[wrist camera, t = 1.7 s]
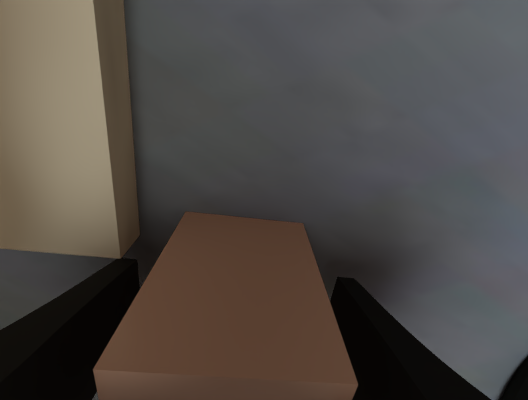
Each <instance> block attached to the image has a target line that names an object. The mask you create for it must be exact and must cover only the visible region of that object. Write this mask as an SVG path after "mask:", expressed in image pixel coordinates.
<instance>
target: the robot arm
mask: <svg viewBox="0 0 528 400" xmlns="http://www.w3.org/2000/svg"><path fill="white" fill-rule="evenodd" d="M139 290H140V288H139V275H138V263H137V260H136V259H124V258H121V259H117V260H115V261H114V262H112V263H110V264H109V265H107V266H106V267H104V268H102V269H101V270H99V271H98V272H96V273H95V274H93V275H92V276H90V277H88V278H87V279H85V280H84V281H82V282H81V283H79V284H77V285H76V286H74V287H73V288H71V289H70V290H68V291H66V292H65V293H63V294H62V295H60V296H58V297H57V298H55V299H53V300H52V301H50V302H48V303H47V304H45V305H43V306H41V307H40V308H38V309H36V310H35V311H33V312H31V313H30V314H28V315H26V316H24V317H23V318H21V319H19V320H18V321H16V322H14V323H12V324H10V325H9V326H7V327H5V328H3V329H1V330H0V400H92V399H93V397H94V395H95V393H96V392H97V388H96V383H95V378H94V373H93V369H94V367H95V365H96V363H97V362H98V360H99V358H100V357H101V355H102V353H103V352H104V350H105V348H106V346H107V345H108V343H109V341H110V340H111V338H112V336H113V334H114V333H115V331H116V329H117V328H118V326H119V324H120V323H121V321H122V319H123V317H124V316H125V314H126V312H127V311H128V309H129V307H130V306H131V304H132V302H133V300H134V299H135V297H136V295H137V294H138V292H139ZM330 303H331V306H332V309H333V312H334V315H335V318H336V321H337V324H338V327H339V330H340V333H341V335H342V338H343V341H344V344H345V347H346V350H347V353H348V356H349V359H350V362H351V365H352V368H353V370H354V373H355V376H356V379H357V382H358V387H357V389H356V391H355V394H354V396H353V399H352V400H491V399H490V398H488V397H487V396H486V395H484V394H483V393H482V392H480V391H479V390H478V389H476V388H475V387H474V386H472V385H471V384H470V383H469V382H467V381H466V380H465V379H464V378H462V377H461V376H460V375H459V374H457V373H456V372H455V371H454V370H452V369H451V368H450V367H449V366H447V365H446V364H445V363H444V362H442V361H441V360H440V359H439V358H438V357H437V356H435V355H434V354H433V353H432V352H431V351H430V350H429V349H427V348H426V347H425V346H424V345H423V344H422V343H421V342H419V341H418V340H417V339H416V338H415V337H414V336H413V335H412V334H411V333H410V332H408V331H407V330H406V329H405V328H404V327H403V326H402V325H401V324H400V323H399V322H398V321H397V320H396V319H395V318H394V317H393V316H392V315H390V314H389V313H388V312H387V311H386V310H385V309H384V308H383V307H382V306H381V305H380V304H379V303H378V302H377V301H376V300H375V299H374V298H373V297H372V296H371V295H370V294H369V293H368V292H367V291H366V290H365V289H364V288H363V287H362V286H361V285H360V284H359V283H358V282H357V281H356V280H355V279H354V278H343V277H337V280H336V284H335V287H334V290H333V294H332V297H331V301H330Z"/></svg>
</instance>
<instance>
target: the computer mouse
mask: <svg viewBox="0 0 528 400" xmlns="http://www.w3.org/2000/svg"><path fill="white" fill-rule="evenodd" d="M501 400H528V358H527V359H526V360H525V361H524V363H523V364H522V365H521V367H520V368H519V369H518V371H517V372H516V374H515V375H514V377H513V378H512V380H511V382H510V383H509V385H508V387H507V389H506V391H505V393H504V395H503V397H502V399H501Z"/></svg>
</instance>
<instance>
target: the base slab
mask: <svg viewBox="0 0 528 400" xmlns="http://www.w3.org/2000/svg"><path fill="white" fill-rule="evenodd" d="M139 236H140V228H139V214H138V200H137V185H136V171H135V157H134V143H133V129H132V114H131V100H130V86H129V72H128V58H127V43H126V29H125V15H124V1H123V0H0V248H1V249H13V250H24V251H36V252H47V253H59V254H70V255H82V256H93V257H105V258H116V259H121V258H122V257H123V255H124V254H125V253H126V252H127V250H128V249H129V248H130V247H131V246H132V244H133V243H134V242H135V241H136V239H137V238H138V237H139Z"/></svg>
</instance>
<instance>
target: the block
mask: <svg viewBox="0 0 528 400" xmlns="http://www.w3.org/2000/svg"><path fill="white" fill-rule="evenodd" d="M93 373H94V378H95V383H96V388H97V393H98V398H99V400H352V399H353V396H354V394H355V391H356V389H357V387H358V382H357V379H356V376H355V373H354V370H353V368H352V365H351V362H350V359H349V356H348V353H347V350H346V347H345V344H344V341H343V338H342V335H341V333H340V330H339V327H338V324H337V321H336V318H335V315H334V312H333V309H332V306H331V303H330V300H329V298H328V295H327V292H326V289H325V286H324V283H323V280H322V277H321V274H320V271H319V268H318V266H317V263H316V260H315V257H314V254H313V251H312V248H311V245H310V242H309V239H308V236H307V233H306V231H305V228H304V225H303V223H295V222H285V221H275V220H265V219H255V218H245V217H236V216H226V215H216V214H206V213H196V212H185V214H184V215H183V217H182V219H181V220H180V222H179V224H178V225H177V227H176V229H175V231H174V232H173V234H172V236H171V237H170V239H169V241H168V242H167V244H166V246H165V248H164V249H163V251H162V253H161V254H160V256H159V258H158V260H157V261H156V263H155V265H154V266H153V268H152V270H151V271H150V273H149V275H148V277H147V278H146V280H145V282H144V283H143V285H142V287H141V288H140V290H139V292H138V294H137V295H136V297H135V299H134V300H133V302H132V304H131V306H130V307H129V309H128V311H127V312H126V314H125V316H124V317H123V319H122V321H121V323H120V324H119V326H118V328H117V329H116V331H115V333H114V334H113V336H112V338H111V340H110V341H109V343H108V345H107V346H106V348H105V350H104V352H103V353H102V355H101V357H100V358H99V360H98V362H97V363H96V365H95V367H94V369H93Z"/></svg>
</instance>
